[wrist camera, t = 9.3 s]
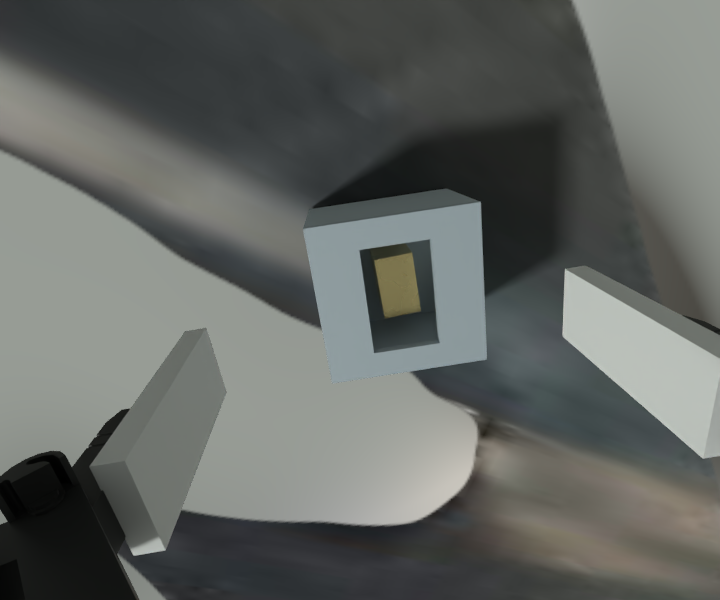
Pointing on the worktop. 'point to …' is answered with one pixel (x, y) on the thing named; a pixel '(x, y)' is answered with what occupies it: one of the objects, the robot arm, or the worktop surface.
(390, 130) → the worktop surface
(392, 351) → the grey square hollow box
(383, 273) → the block
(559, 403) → the worktop surface
